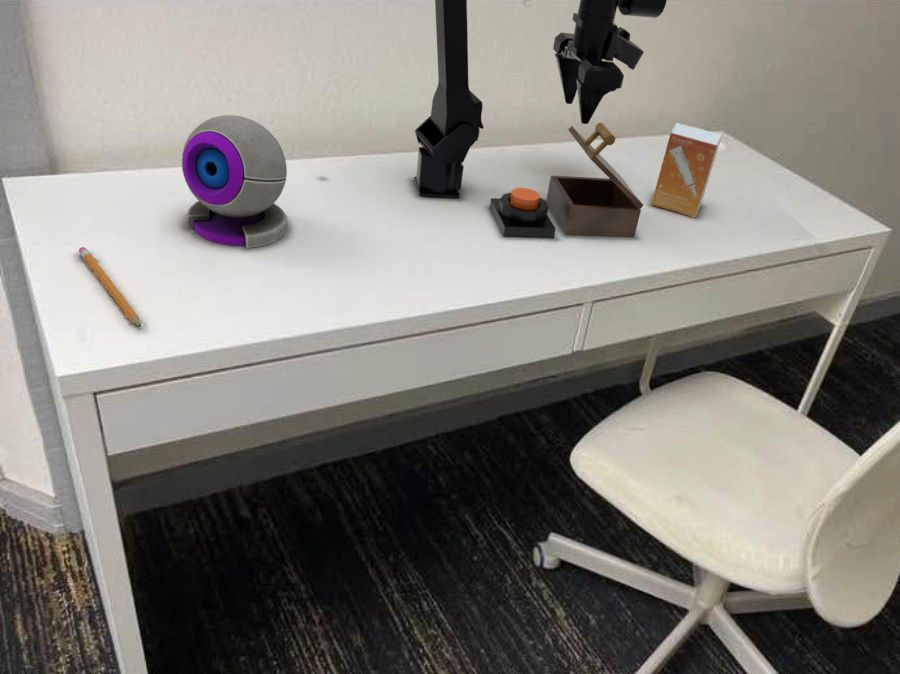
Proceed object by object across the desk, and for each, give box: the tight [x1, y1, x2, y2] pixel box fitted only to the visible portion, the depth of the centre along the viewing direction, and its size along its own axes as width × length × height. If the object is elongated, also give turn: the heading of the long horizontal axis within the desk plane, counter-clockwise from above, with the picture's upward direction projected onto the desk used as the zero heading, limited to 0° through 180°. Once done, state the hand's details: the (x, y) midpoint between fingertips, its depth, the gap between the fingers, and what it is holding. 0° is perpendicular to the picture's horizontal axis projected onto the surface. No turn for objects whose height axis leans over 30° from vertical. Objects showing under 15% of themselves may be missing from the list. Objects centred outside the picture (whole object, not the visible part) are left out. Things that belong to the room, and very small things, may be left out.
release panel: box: [489, 192, 556, 239], centre depth 132 cm, size 10×8×4 cm
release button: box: [510, 187, 541, 210], centre depth 130 cm, size 4×4×2 cm
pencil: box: [78, 246, 142, 328], centre depth 99 cm, size 1×1×19 cm
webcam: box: [181, 114, 288, 249], centre depth 113 cm, size 13×13×15 cm
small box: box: [651, 122, 723, 218], centre depth 145 cm, size 8×6×13 cm
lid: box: [568, 122, 645, 209], centre depth 132 cm, size 12×12×5 cm
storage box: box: [545, 175, 642, 239], centre depth 136 cm, size 12×12×5 cm
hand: (576, 113), depth 140 cm, fingers open, 9 cm apart
